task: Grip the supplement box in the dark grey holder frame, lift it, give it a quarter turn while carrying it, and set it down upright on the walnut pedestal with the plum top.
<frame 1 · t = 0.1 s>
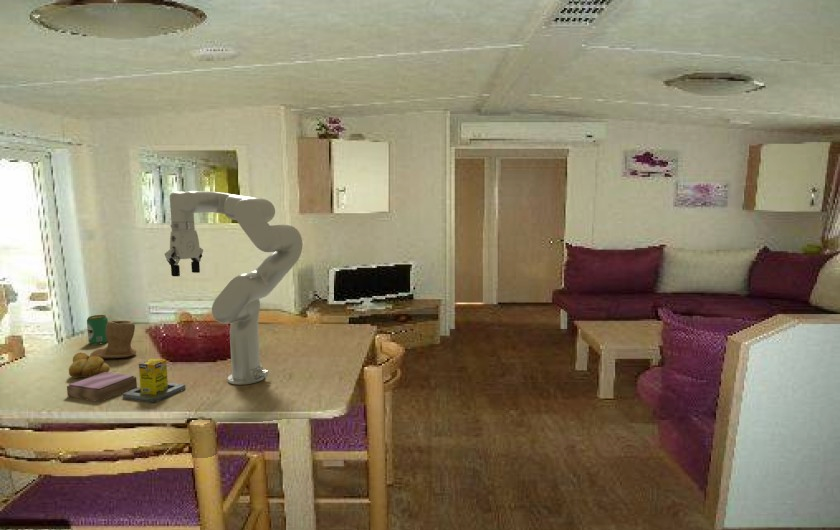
hand: (186, 274, 187), 37 cm above the table, tool pointing down, fingers open, 9 cm apart
supplement box: (154, 394, 171), resting in holder frame
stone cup: (117, 357, 213), on the table
bread roll: (89, 376, 190), on the table
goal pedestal: (103, 391, 173), on the table
beverage can: (99, 342, 235), on the table
holder frame: (154, 393, 171), on the table
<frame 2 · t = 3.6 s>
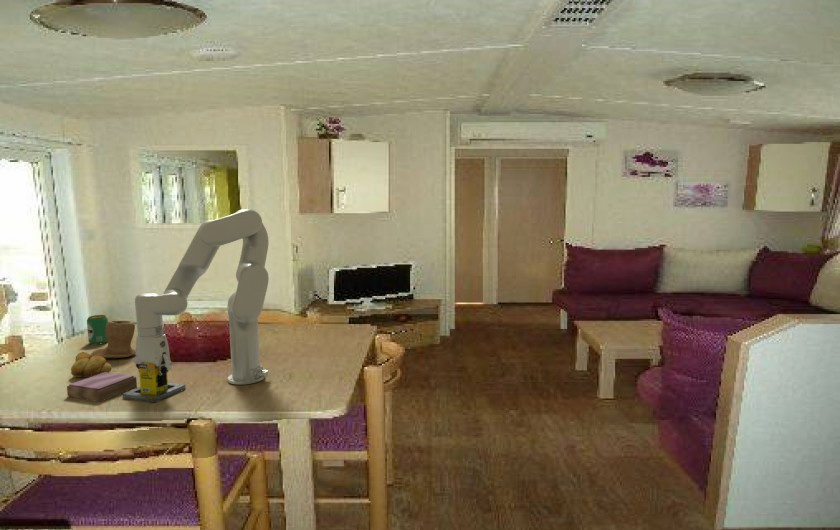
hand: (154, 384, 170), 3 cm above the table, tool pointing down, fingers closed on supplement box, 6 cm apart
supplement box: (154, 394, 171), resting in holder frame, touching gripper
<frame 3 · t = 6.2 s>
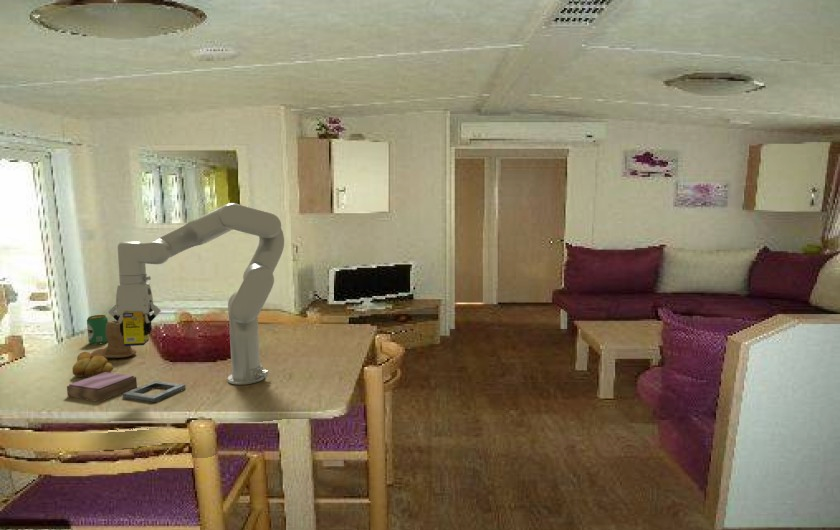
hand: (136, 334, 169), 20 cm above the table, tool pointing down, fingers closed on supplement box, 6 cm apart
supplement box: (136, 344, 169), point 17 cm above the table, touching gripper
when the fingers open (8 cm above the table, at t = 8.7 s): supplement box drops 1 cm, resting on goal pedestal.
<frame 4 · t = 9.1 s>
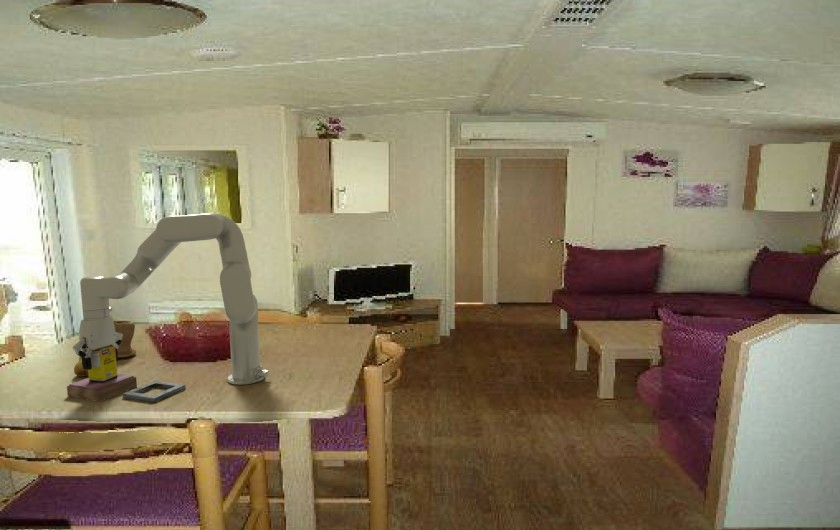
hand: (100, 364, 172), 9 cm above the table, tool pointing down, fingers open, 9 cm apart
supplement box: (103, 380, 172), point 4 cm above the table, touching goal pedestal
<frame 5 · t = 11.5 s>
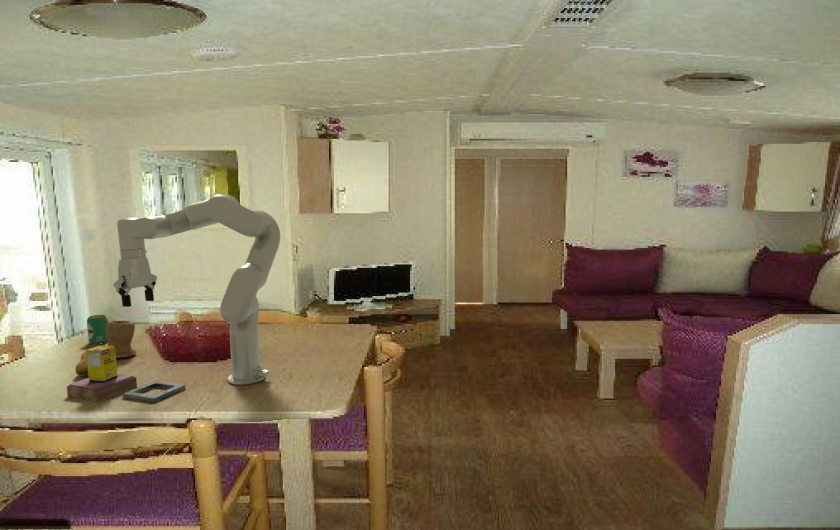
hand: (138, 303, 179), 28 cm above the table, tool pointing down, fingers open, 9 cm apart
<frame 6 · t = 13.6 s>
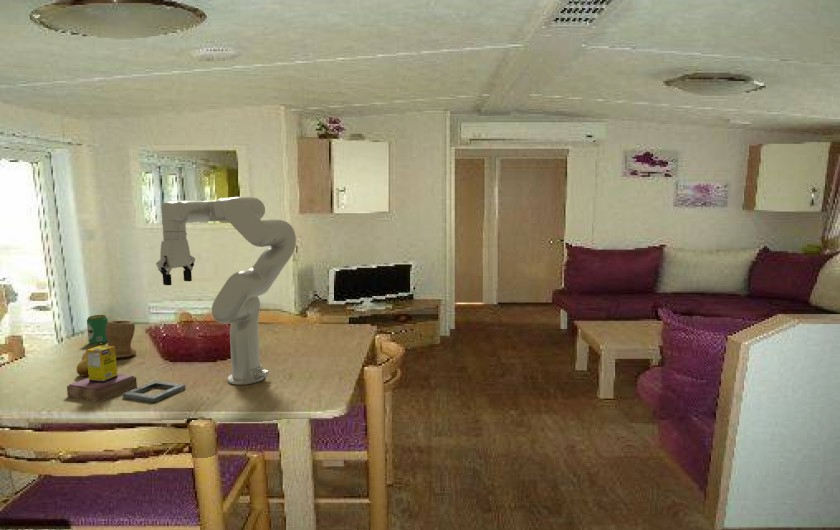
hand: (177, 283, 189), 33 cm above the table, tool pointing down, fingers open, 9 cm apart
at the end: supplement box inside the target area on the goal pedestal (0.4 cm from its centre), point 3.8 cm above the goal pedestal's base; supplement box tilted 0°; the gripper is holding nothing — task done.
